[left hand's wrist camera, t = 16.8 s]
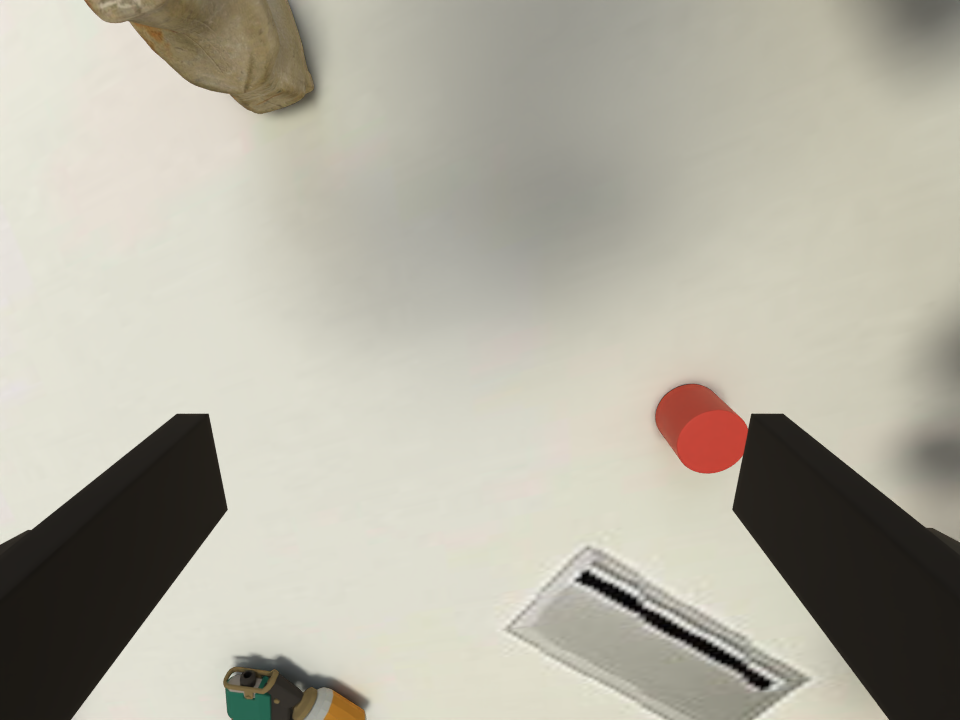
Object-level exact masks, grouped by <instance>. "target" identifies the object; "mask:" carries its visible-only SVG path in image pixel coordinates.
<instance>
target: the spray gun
mask: <svg viewBox="0 0 960 720" xmlns="http://www.w3.org/2000/svg"><path fill="white" fill-rule="evenodd" d="M234 672H243V673H242V675H235V676H233V677H231V678H230V679H229V677H230V675H231V674H232V673H234ZM278 674H279V672H278V671H277V670H276V669H273V670H272V671H264V670H257V669H250V668H243V667H233V668H231V669H230V670H229V671H228V672H227V674H226V676H225V678H224V681H223V684H224V687H225V690H226V703H227V713H228V715H229V717H230V718H232V720H366V714H365V711H364V710H363V709H361V708H360V707H358V706H357V705H355V704H354V703H352V702H351V701H349V700H347V699H346V698H344V697H343V696H341V695H340V694H338V693H337V692H335V691H333V690H332V689H329V688H325V687H322V688H320V689H318V690H316V689H315V688H313V687H310V688H308V689H307V690H306V691H305V692H302V691H301V690H300V689H299V688H297V687H296V686H295V685H293V684H292V683H291V682H289V681H288V680H287V679H286V678H284V677H283V676H282V675H280V674H279V675H278ZM261 675H264V677H263V678H261ZM267 676H271V677H270V678H268V677H267ZM228 679H229V680H228ZM293 706H294V710H293V711H292V707H293Z"/></svg>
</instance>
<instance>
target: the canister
mask: <svg viewBox="0 0 960 720" xmlns="http://www.w3.org/2000/svg"><path fill="white" fill-rule="evenodd" d="M656 424H657V427H658V429H659V430H660V432H661V433H662V435H663V436H664V438H665V439H666V440H667V442H668V443H669V445H670V446H671V448H672V449H673V450H674V452H675V453H676V455H677V456H678V457H679V459H680V460H681V462H682V463H683V464H684V465H685V466H686V467H688V468H689V469H691V470H693V471H695V472H699V473H716V472H720V471H723V470H725V469H727V468H729V467H731V466H732V465H734V464H735V463H736V462H737V461H738V460H739V459H740V458H741V457H742V456H743V453H744V448H745V443H746V438H747V433H748V428H747V425H746V424H745V422H744V421H743V420H742V418H740V417H739V416H738V415H737V414H736V413H735V412H734V411H733V410H732V409H731V408H730V407H729V406H728V405H726V404H725V403H724V402H723V401H722V400H721V399H720V398H719V397H718V396H717V395H716V394H715V393H714V392H712V391H711V390H710V389H708V388H707V387H704V386H701V385H697V384H688V385H682V386H679V387H677V388H675V389H673V390H671V391H670V392H669V393H667V394H666V395H665V396H664V397H663V399H662V400H661V401H660V403H659V405H658V407H657V410H656Z"/></svg>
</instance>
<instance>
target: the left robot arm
mask: <svg viewBox="0 0 960 720" xmlns="http://www.w3.org/2000/svg"><path fill="white" fill-rule="evenodd" d="M227 510H228V509H227V504H226V499H225V494H224V489H223V484H222V479H221V474H220V469H219V464H218V458H217V453H216V448H215V443H214V438H213V433H212V428H211V423H210V418H209V414H176V415H175V416H174V417H172V418H171V419H170V420H169V421H167V422H166V423H165V424H164V425H162V426H161V427H160V428H159V429H157V430H156V431H155V432H154V433H152V434H151V435H150V436H149V437H147V438H146V439H145V440H144V441H142V442H141V443H140V444H139V445H137V446H136V447H135V448H134V449H132V450H131V451H130V452H129V453H127V454H126V455H125V456H124V457H122V458H121V459H120V460H119V461H117V462H116V463H115V464H114V465H112V466H111V467H110V468H109V469H107V470H106V471H105V472H104V473H102V474H101V475H100V476H99V477H97V478H96V479H95V480H94V481H92V482H91V483H90V484H89V485H87V486H86V487H85V488H83V489H82V490H81V491H80V492H78V493H77V494H76V495H75V496H73V497H72V498H71V499H70V500H68V501H67V502H66V503H65V504H63V505H62V506H61V507H60V508H58V509H57V510H56V511H55V512H53V513H52V514H51V515H50V516H48V517H47V518H46V519H45V520H43V521H42V522H41V523H40V524H38V525H37V526H36V527H35V528H33V529H32V530H27V531H25V532H23V533H21V534H20V535H18V536H16V537H14V538H12V539H10V540H8V541H6V542H5V543H3V544H1V545H0V720H71V719H72V718H73V716H74V715H75V714H76V712H77V711H78V709H79V708H80V707H81V705H82V704H83V703H84V701H85V700H86V699H87V697H88V696H89V695H90V693H91V692H92V691H93V689H94V688H95V687H96V685H97V684H98V683H99V681H100V680H101V679H102V677H103V676H104V675H105V673H106V672H107V671H108V669H109V668H110V667H111V665H112V664H113V663H114V661H115V660H116V659H117V657H118V656H119V655H120V653H121V652H122V651H123V649H124V648H125V647H126V645H127V644H128V642H129V641H130V640H131V638H132V637H133V636H134V634H135V633H136V632H137V630H138V629H139V628H140V626H141V625H142V624H143V622H144V621H145V620H146V618H147V617H148V616H149V614H150V613H151V612H152V610H153V609H154V608H155V606H156V605H157V604H158V602H159V601H160V600H161V598H162V597H163V596H164V594H165V593H166V592H167V590H168V589H169V588H170V586H171V585H172V584H173V582H174V581H175V580H176V578H177V577H178V576H179V574H180V573H181V571H182V570H183V569H184V567H185V566H186V565H187V563H188V562H189V561H190V559H191V558H192V557H193V555H194V554H195V553H196V551H197V550H198V549H199V547H200V546H201V545H202V543H203V542H204V541H205V539H206V538H207V537H208V535H209V534H210V533H211V531H212V530H213V529H214V527H215V526H216V525H217V523H218V522H219V521H220V519H221V518H222V517H223V515H224V514H225V513H226V511H227ZM732 510H733V511H734V513H735V514H736V515H737V517H738V518H739V519H740V521H741V522H742V523H743V525H744V526H745V527H746V529H747V530H748V531H749V533H750V534H751V535H752V537H753V538H754V539H755V541H756V542H757V543H758V545H759V546H760V547H761V549H762V550H763V551H764V553H765V554H766V555H767V557H768V558H769V559H770V561H771V562H772V563H773V565H774V566H775V567H776V569H777V570H778V571H779V573H780V574H781V576H782V577H783V578H784V580H785V581H786V582H787V584H788V585H789V586H790V588H791V589H792V590H793V592H794V593H795V594H796V596H797V597H798V598H799V600H800V601H801V602H802V604H803V605H804V606H805V608H806V609H807V610H808V612H809V613H810V614H811V616H812V617H813V618H814V620H815V621H816V622H817V624H818V625H819V626H820V628H821V629H822V630H823V632H824V633H825V634H826V636H827V637H828V638H829V640H830V641H831V642H832V644H833V645H834V647H835V648H836V649H837V651H838V652H839V653H840V655H841V656H842V657H843V659H844V660H845V661H846V663H847V664H848V665H849V667H850V668H851V669H852V671H853V672H854V673H855V675H856V676H857V677H858V679H859V680H860V681H861V683H862V684H863V685H864V687H865V688H866V689H867V691H868V692H869V693H870V695H871V696H872V697H873V699H874V700H875V701H876V703H877V704H878V705H879V707H880V708H881V709H882V711H883V712H884V714H885V715H886V716H887V718H888V719H889V720H960V542H958V541H956V540H954V539H952V538H950V537H948V536H947V535H945V534H943V533H941V532H939V531H937V530H935V529H933V528H925V527H924V526H923V525H922V524H920V523H919V522H918V521H917V520H915V519H914V518H913V517H912V516H910V515H909V514H908V513H907V512H905V511H904V510H903V509H902V508H900V507H899V506H898V505H897V504H895V503H894V502H893V501H892V500H890V499H889V498H888V497H887V496H885V495H884V494H883V493H882V492H880V491H879V490H878V489H876V488H875V487H874V486H873V485H871V484H870V483H869V482H868V481H866V480H865V479H864V478H863V477H861V476H860V475H859V474H858V473H856V472H855V471H854V470H853V469H851V468H850V467H849V466H848V465H846V464H845V463H844V462H843V461H841V460H840V459H839V458H838V457H836V456H835V455H834V454H833V453H831V452H830V451H829V450H828V449H826V448H825V447H824V446H823V445H821V444H820V443H819V442H818V441H816V440H815V439H814V438H813V437H811V436H810V435H809V434H808V433H806V432H805V431H804V430H803V429H801V428H800V427H799V426H798V425H796V424H795V423H794V422H793V421H791V420H790V419H789V418H788V417H786V416H785V415H784V414H751V418H750V423H749V428H748V433H747V438H746V443H745V448H744V453H743V458H742V463H741V469H740V474H739V479H738V484H737V489H736V494H735V499H734V504H733V509H732Z"/></svg>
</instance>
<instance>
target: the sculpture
mask: <svg viewBox="0 0 960 720" xmlns="http://www.w3.org/2000/svg"><path fill="white" fill-rule="evenodd" d="M84 1H85V2H86V3H87V5H88V6H89V7H90V8H91V9H92V11H93V12H94V13H95V14H96V15H97V16H99V17H100V18H101V19H102V20H104V21H105V22H109V23H121V22H125V21H129V22H130V23H131V24H132V26H133V27H134V28H135V30H136V31H137V32H138V33H139V35H140V36H141V37H142V38H143V39H144V40H145V41H146V43H147V44H148V45H149V46H150V47H151V49H152V50H153V51H154V52H155V53H157V54H158V55H159V56H160V57H161V58H162V59H164V60H165V61H166V62H167V63H168V64H169V65H170V66H171V67H172V68H173V69H174V70H175V71H176V72H178V73H179V74H180V75H181V76H182V77H183V78H184V79H186V80H187V81H188V82H190V83H192V84H194V85H196V86H198V87H201V88H204V89H208V90H211V91H215V92H221V93H227V94H230V95H231V96H232V97H233V98H234V99H235V100H236V101H237V102H238V103H239V104H241V105H242V106H243V107H245V108H246V109H247V110H250V111H252V112H254V113H257V114H263V113H267V112H271V111H274V110H278V109H281V108H284V107H286V106H289V105H291V104H293V103H296V102H298V101H299V100H301V99H302V98H303V97H304V96H305V94H307V93H309V92H311V91H312V90H313V89H314V84H313V81H312V77H311V75H310V73H309V72H308V69H307V66H306V62H305V57H304V51H303V46H302V43H301V39H300V36H299V33H298V30H297V27H296V23H295V20H294V17H293V14H292V12H291V9H290V6H289V3H288V1H287V0H84Z"/></svg>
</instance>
